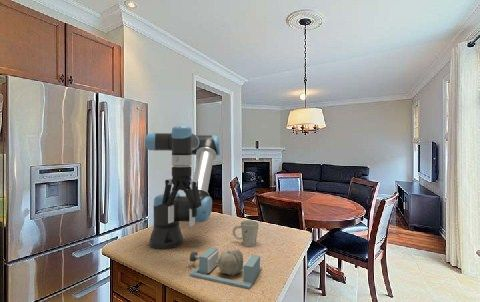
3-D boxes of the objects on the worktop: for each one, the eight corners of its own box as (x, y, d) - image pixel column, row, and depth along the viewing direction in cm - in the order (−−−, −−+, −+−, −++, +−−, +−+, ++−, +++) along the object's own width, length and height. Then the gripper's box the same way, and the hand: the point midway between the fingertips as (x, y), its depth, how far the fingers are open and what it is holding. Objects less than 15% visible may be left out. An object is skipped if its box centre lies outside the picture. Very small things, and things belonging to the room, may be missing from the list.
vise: (189, 276, 86) (189, 259, 86) (208, 259, 99) (208, 244, 99) (249, 289, 78) (250, 270, 78) (261, 269, 91) (261, 253, 91)
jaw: (185, 269, 90) (185, 253, 90) (198, 259, 98) (198, 245, 98) (208, 274, 86) (208, 258, 86) (218, 263, 95) (219, 248, 95)
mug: (257, 248, 110) (257, 226, 110) (230, 245, 113) (230, 224, 113) (259, 241, 119) (259, 220, 119) (234, 239, 121) (234, 219, 121)
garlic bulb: (241, 277, 90) (251, 252, 90) (232, 285, 82) (242, 257, 82) (220, 264, 94) (229, 240, 94) (209, 270, 86) (219, 244, 86)
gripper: (152, 165, 95) (152, 223, 96) (201, 167, 88) (201, 230, 88) (164, 164, 103) (164, 218, 103) (211, 166, 95) (210, 224, 95)
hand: (181, 223), depth 95 cm, fingers open, 9 cm apart
